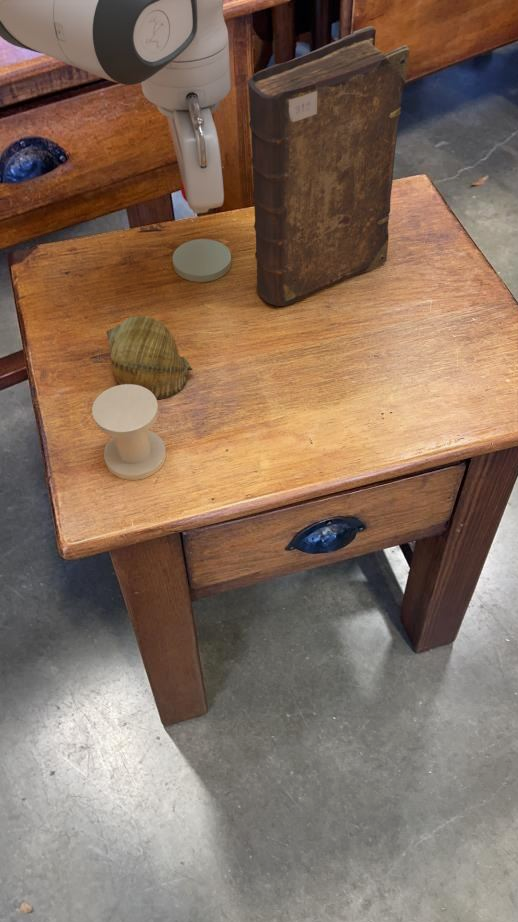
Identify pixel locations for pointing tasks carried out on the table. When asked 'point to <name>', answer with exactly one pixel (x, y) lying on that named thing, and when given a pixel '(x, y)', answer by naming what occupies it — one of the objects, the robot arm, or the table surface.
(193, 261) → the plate
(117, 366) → the seashell
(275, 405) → the table surface
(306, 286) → the book
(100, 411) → the stand
